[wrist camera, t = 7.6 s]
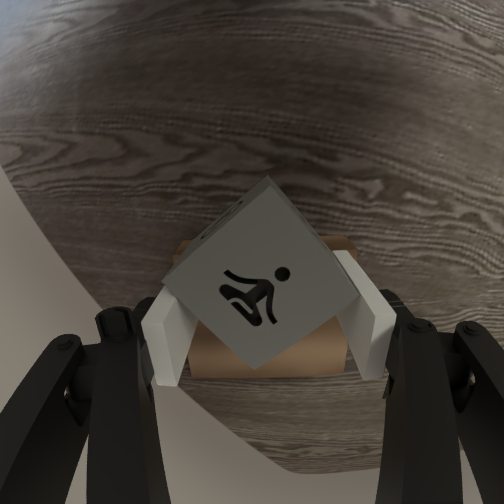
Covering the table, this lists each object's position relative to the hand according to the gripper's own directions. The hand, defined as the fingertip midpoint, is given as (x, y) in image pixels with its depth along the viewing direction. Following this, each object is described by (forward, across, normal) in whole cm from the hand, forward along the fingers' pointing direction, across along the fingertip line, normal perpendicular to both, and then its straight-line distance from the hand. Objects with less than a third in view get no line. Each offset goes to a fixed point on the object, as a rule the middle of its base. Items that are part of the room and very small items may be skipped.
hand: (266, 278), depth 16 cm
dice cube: (0, 0, +2) cm, 2 cm away
